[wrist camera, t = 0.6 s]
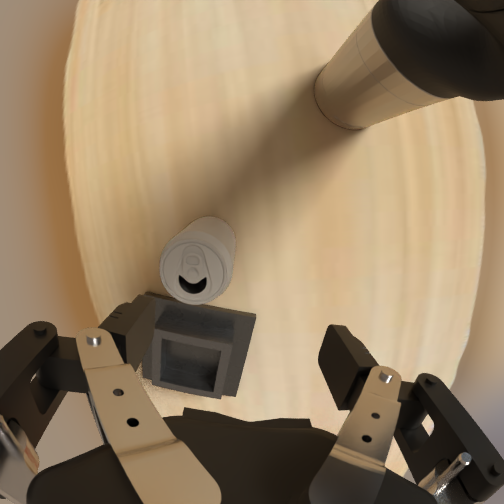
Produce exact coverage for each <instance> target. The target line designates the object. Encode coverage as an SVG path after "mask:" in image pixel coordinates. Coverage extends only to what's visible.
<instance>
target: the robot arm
mask: <svg viewBox="0 0 504 504" xmlns="http://www.w3.org/2000/svg"><path fill="white" fill-rule="evenodd" d="M314 94H315V98H316V102H317V104H318V106H319V108H320V110H321V111H322V112H323V114H324V115H325V116H326V117H327V118H328V119H329V120H330V121H332V122H333V123H335V124H336V125H338V126H341V127H343V128H347V129H353V130H358V129H363V128H366V127H369V126H371V125H374V124H377V123H380V122H382V121H385V120H388V119H390V118H393V117H396V116H399V115H402V114H405V113H407V112H410V111H413V110H416V109H419V108H422V107H425V106H428V105H432V104H434V103H438V102H441V101H444V100H448V99H451V98H454V97H458V96H461V97H464V98H468V99H471V100H476V101H493V100H502V99H504V0H379V1H378V2H377V3H376V4H375V6H374V7H373V8H372V9H371V10H370V12H369V13H368V14H367V15H366V16H365V18H364V19H363V20H362V21H361V23H360V24H359V25H358V26H357V27H356V29H355V30H354V31H353V32H352V34H351V35H350V36H349V37H348V39H347V40H346V41H345V42H344V44H343V45H342V46H341V47H340V49H339V50H338V51H337V52H336V54H335V55H334V56H333V58H332V59H331V60H330V61H329V63H328V64H327V65H326V66H325V68H324V69H323V70H322V72H321V73H320V74H319V76H318V78H317V80H316V82H315V87H314ZM155 306H156V300H155V298H154V297H149V296H144V295H138V296H137V297H136V298H135V299H134V301H133V302H132V303H128V302H126V303H124V304H121V305H119V306H118V307H117V308H116V309H115V310H114V311H113V312H112V313H111V314H110V315H109V316H108V317H107V318H106V319H105V320H104V321H103V322H102V324H101V325H100V326H99V327H98V328H86V329H83V330H81V331H79V332H78V333H77V335H76V338H69V337H61V336H58V334H57V329H56V327H55V326H54V325H53V324H52V323H49V322H44V321H38V322H33V323H31V324H29V325H28V326H26V327H25V328H24V329H23V330H22V331H21V332H20V333H18V334H17V335H16V336H15V337H14V338H13V339H12V340H11V341H10V342H9V343H7V344H6V345H5V346H4V347H3V348H2V349H1V350H0V498H1V499H6V498H7V499H8V500H10V501H11V502H13V503H14V504H482V503H484V502H485V501H486V500H487V499H488V498H489V497H491V496H492V495H493V494H494V493H495V492H496V491H497V490H499V489H500V488H501V487H502V486H503V485H504V460H503V459H502V457H501V456H500V454H499V453H498V451H497V450H496V449H495V447H494V446H493V445H492V443H491V442H490V441H489V439H488V438H487V437H486V435H485V434H484V433H483V431H482V430H481V429H480V427H479V426H478V425H477V424H476V422H475V421H474V420H473V419H472V417H471V416H470V415H469V413H468V412H467V411H466V410H465V408H464V407H463V406H462V405H461V404H460V403H459V401H458V400H457V399H456V397H455V396H454V395H453V394H452V393H451V391H450V390H449V389H448V388H447V387H446V385H445V384H444V383H443V382H442V381H441V380H440V379H439V378H438V377H436V376H434V375H432V374H428V373H422V374H419V375H418V377H417V379H416V381H415V382H414V383H412V382H405V381H401V380H402V379H401V376H400V374H399V373H398V372H396V371H395V370H393V369H392V368H389V367H386V366H379V364H378V363H377V362H376V360H375V359H374V358H373V356H372V355H371V354H369V351H368V350H367V349H366V347H365V346H364V344H363V343H362V342H361V341H360V340H358V339H357V338H356V337H354V336H353V335H352V334H351V333H350V331H349V330H348V329H347V327H346V326H343V325H329V326H328V328H327V330H326V334H325V337H324V340H323V343H322V346H321V348H320V351H319V356H318V363H319V366H320V369H321V371H322V373H323V375H324V378H325V380H326V382H327V385H328V387H329V389H330V392H331V394H332V396H333V399H334V401H335V403H336V406H337V408H338V410H350V413H349V415H348V416H347V418H346V420H345V422H344V424H343V426H342V427H341V429H340V431H339V433H338V435H337V436H336V435H334V434H332V433H330V432H328V431H325V430H322V429H318V428H314V427H312V425H311V422H310V419H292V418H278V419H271V420H263V421H255V422H247V421H243V420H239V419H236V418H232V417H229V416H226V415H223V414H219V413H216V412H210V411H203V410H197V409H191V408H186V407H184V411H183V415H182V416H169V417H163V418H162V417H161V415H160V414H159V412H158V411H157V409H156V408H155V406H154V404H153V403H152V401H151V399H150V398H149V396H148V394H147V393H146V391H145V389H144V387H143V386H142V384H141V382H140V380H139V378H138V377H137V375H136V373H135V372H136V370H137V369H138V367H139V365H140V363H141V361H142V359H143V357H144V355H145V353H146V351H147V349H148V347H149V346H150V344H151V342H152V339H153V336H154V329H155ZM35 373H36V376H35V378H34V379H33V380H32V381H31V379H32V377H33V375H34V374H35ZM30 382H31V383H30ZM68 391H70V392H79V393H86V395H87V398H88V402H89V404H90V408H91V411H92V413H93V416H94V419H95V422H96V425H97V428H98V430H99V433H100V436H101V439H102V441H103V444H104V445H102V446H99V447H97V448H95V449H93V450H90V451H88V452H86V453H84V454H81V455H79V456H76V457H74V458H72V459H69V460H67V461H64V462H62V463H59V464H56V465H54V466H51V467H48V468H46V469H44V470H42V471H41V472H39V473H38V467H39V456H38V454H37V452H36V451H35V448H36V446H37V444H38V442H39V440H40V439H41V437H42V435H43V433H44V431H45V429H46V428H47V426H48V424H49V422H50V420H51V419H52V417H53V415H54V414H55V412H56V410H57V408H58V407H59V405H60V403H61V402H62V400H63V398H64V397H65V395H66V393H67V392H68ZM427 414H429V416H430V417H431V419H432V420H433V422H434V430H433V432H432V434H431V435H430V437H429V435H428V434H427V432H426V430H425V429H424V427H423V425H422V424H421V423H422V422H423V420H424V419H425V417H426V416H427ZM393 436H394V438H395V440H396V442H397V444H398V446H399V448H400V450H401V452H402V454H403V456H404V458H405V460H406V463H407V465H408V467H409V469H410V471H411V473H412V475H413V478H414V480H415V482H416V484H417V485H416V484H414V483H412V482H410V481H408V480H406V479H405V478H403V477H401V476H400V475H398V474H396V473H394V472H393V471H391V470H389V469H388V468H386V467H385V461H386V458H387V455H388V452H389V449H390V445H391V442H392V439H393Z"/></svg>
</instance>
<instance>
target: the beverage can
mask: <svg viewBox="0 0 504 504" xmlns="http://www.w3.org/2000/svg"><path fill="white" fill-rule="evenodd" d="M235 250H236V238H235V234H234V232H233V230H232V228H231V227H230V226H229V225H228V224H227V223H226V222H225V221H223V220H222V219H220V218H217V217H212V216H206V217H201V218H199V219H196V220H195V221H193V222H192V223H191V224H190V225H188V226H187V227H186V228H185V229H183V230H182V231H181V232H180V233H178V234H177V235H176V236H175V237H173V238H172V239H171V240H170V241H169V242H168V243H167V244H166V246H165V247H164V249H163V251H162V254H161V257H160V277H161V281H162V283H163V285H164V287H165V289H166V290H167V291H168V292H169V293H170V295H172V296H173V297H174V298H176V299H177V300H179V301H181V302H183V303H186V304H192V305H200V304H205V303H208V302H210V301H212V300H214V299H215V298H217V297H218V296H220V295H221V294H222V293H223V292H224V291H225V290H226V289H227V287H228V285H229V284H230V281H231V278H232V273H233V266H234V258H235Z"/></svg>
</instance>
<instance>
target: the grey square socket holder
mask: <svg viewBox="0 0 504 504" xmlns="http://www.w3.org/2000/svg"><path fill="white" fill-rule="evenodd" d="M144 296H149V297H154V298H155V300H156V306H155V329H154V336H153V339H152V342H151V344H150V346H149V347H148V349H147V351H146V353H145V355H144V357H143V359H142V365H143V378H147V379H150V380H152V385H155V386H159V387H163V388H167V389H171V390H176V391H180V392H185V393H189V394H194V395H199V396H205V397H210V398H216V399H221V396H222V395H227V396H233V397H236V394H237V390H238V386H239V382H240V379H241V375H242V371H243V367H244V363H245V359H246V356H247V352H248V348H249V344H250V340H251V336H252V332H253V328H254V324H255V320H256V314H253V313H247V312H242V311H236V310H231V309H225V308H220V307H215V306H210V305H205V304H200V305H192V304H186V303H183V302H181V301H179V300H177V299H176V298H172V297H167V296H163V295H159V294H154V293H150V292H146V293H145V294H144Z"/></svg>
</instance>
